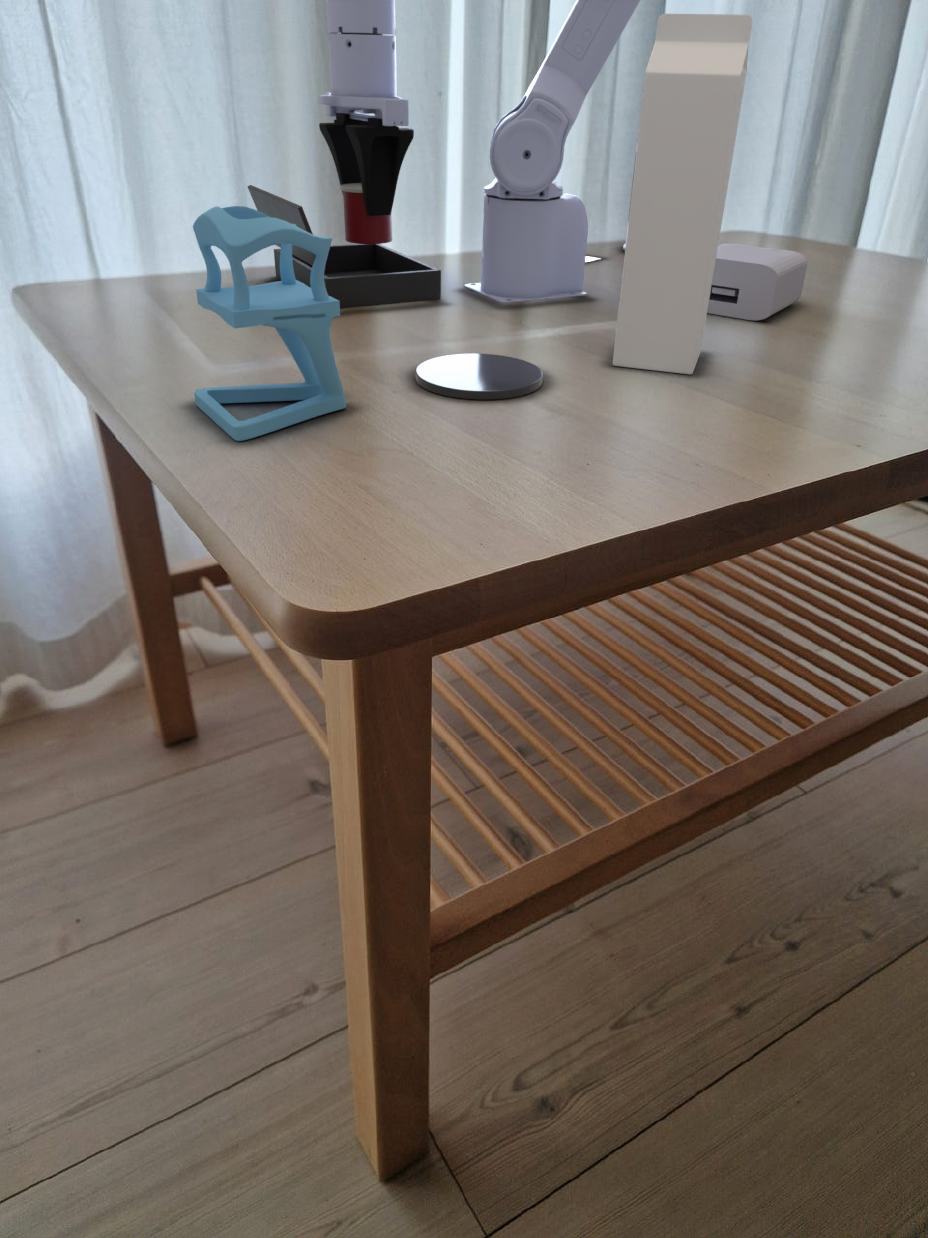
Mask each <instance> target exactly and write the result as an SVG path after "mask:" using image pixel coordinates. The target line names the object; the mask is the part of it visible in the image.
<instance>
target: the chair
mask: <svg viewBox="0 0 928 1238" xmlns="http://www.w3.org/2000/svg"><path fill="white" fill-rule="evenodd" d="M192 229H193V232H194V235H195V238H196V242H197V244H198V248H199V250H200V253H201V255H202V258H203V261H204V263H205V267H206V282H205V286H204V288H195V293H196V301H197V305H199V306H200V307H202V308H203V309H206V310H208V311H210V312H211V311H212V312H213V313H215V314H216V315H217V316H219V317H220V319H222V320H223V321H224V323H226V324H227V325H229V326H230V327H232V328H233V329H241V328H242V329H243V328H250V327H258V326H264V327H269V328H274V329H275V331H276V332H277V334H278V336H280V338H281V340H282V341H283V344H284V345H285V346H286V348H287V350H288V352H289V353H290V355H291V357H292V359H293V361H294V363H295V364H296V366H297V368H298V369H299V371H300V373H301V375H302V377H303V379H304V382H303V381H302V382H295V383H293V382H291V383H276V384H275V383H274V384H252V385H232V386H231V385H230V386H215V387H204V388H203V387H202V388H198V389H195V390H194V392H193V395H194V399H195V404H196V407H197V408H198V409H200V410H201V411H202V412H203V413H204V414H205V415H206V416H207V417H209V418H210V419H211V421H212V422H214V423H215V424H216V425H217V426H218V427H220V429H222V430H223V431H224V432H225V433H226V434H227V435H228V436H229V437H231V438H232V439H233V441H236V442H242V441H247V440H251V439H254V438H257V437H260V436H264V435H266V434H269V433H273V432H276V431H278V430H281V429H284V428H286V427H290V426H293V425H295V424H299V423H301V422H304V421H307V420H310V419H313V418H316V417H320V416H322V415H326V414H329V413H333V412H336V411H340V410H344V409H346V408H347V401H346V394H345V391H344V387H343V384H342V380H341V377H340V373H339V371H338V367H337V363H336V359H335V355H334V351H333V345H332V340H331V326H332V325H331V324H332V322H333V320H334V319H335V318H337V317H340V316H341V309H340V301H339V300H337V299H335V298H333V297H331V296H328V294H327V291H326V288H325V283H324V270H325V264H326V260H327V257H328V253H329V249H330V246H332V242H333V237H331V236H320V235H316V234H314V233H313V234H310V233H308V232H307V231H305V230H303V229H301V228H299V227H297V226H296V224H291V223H289V222H287V221H284V220H281V219H277V218H271V217H269V216H267V215H265V214H263V213H261V212H259V211H257V209H256V208H255V209H254V208H251V207H248V206H242V205H232V206H226V207H220V206H214V207H211V208H209V209H208V210H206V211H204V212H203V213H201V214H199V216H198V217H197V218H196V219H195V221H194V223H193V224H192ZM277 244H281V248H280V249H281V251H280V275H281V279H280V280H278V281H272V282H267V283H261V284H255V285H254V284H253V285H249V283H248V278H247V275H246V272H245V268H244V266H243V262H244V261H245V260H246V259H248V258H250V257H251V256H253V255H255V254H256V253H258V252H260V251H262V250H265V249H266V248H269V247H271V246H276V245H277ZM292 245H295V246H299V247H301V248H304V249H306V250H308V251H310V252H312V253H314V254H315V255H316V258H315V261H314V264H313V267H312V270H311V275H310V285H311V288H310V287H308V286H307V285H305V284H304V283H302V282H300V281H297V280H296V279H295V275H294V269H293V261H292ZM212 247H216V248H218V249H219V250H220V251H221V252H222V253H223V254H224V255H225V257H226V258H227V260H228V263H229V267H230V271H231V276H232V282H233V283H232V284H233V286H222V271H221V267H220V264H219V261H218V259H217V257H216V255H215V253H214V251H213V249H212ZM290 401H291V402H292V401H297V402H295V403H292V404H289V405H286V406H283V407H279V408H277V409H274V410H271V411H269V412H266V413H263V414H260V415H257V416H254V417H250V418H247V419H245V420H239V419H237V418H236V417H235V416H234V415H232V414H231V413H230V412H229V411H228V409H226V408H225V407H223V406H222V404H242V403H264V402H265V403H266V402H290Z"/></svg>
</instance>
